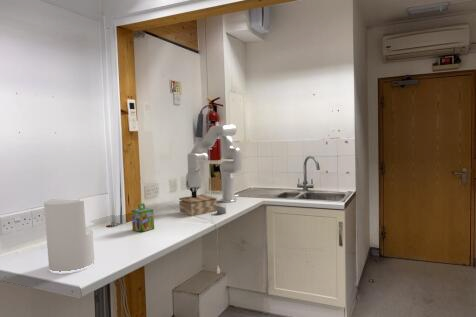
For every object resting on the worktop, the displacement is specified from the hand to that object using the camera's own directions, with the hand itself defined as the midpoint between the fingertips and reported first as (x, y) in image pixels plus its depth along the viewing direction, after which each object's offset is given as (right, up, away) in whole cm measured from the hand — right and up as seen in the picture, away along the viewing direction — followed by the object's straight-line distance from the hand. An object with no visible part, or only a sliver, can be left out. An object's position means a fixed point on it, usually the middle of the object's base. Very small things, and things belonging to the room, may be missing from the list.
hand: (194, 197), depth 243 cm
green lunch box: (-24, -14, -43) cm, 51 cm away
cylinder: (-39, -18, -96) cm, 106 cm away
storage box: (+3, -10, -2) cm, 11 cm away
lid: (+3, -1, -2) cm, 4 cm away
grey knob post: (+19, -10, -9) cm, 24 cm away
